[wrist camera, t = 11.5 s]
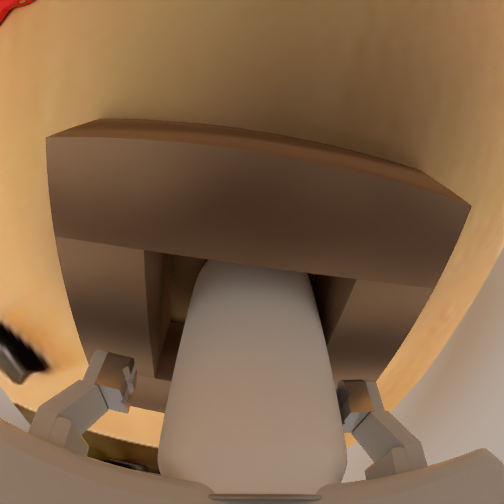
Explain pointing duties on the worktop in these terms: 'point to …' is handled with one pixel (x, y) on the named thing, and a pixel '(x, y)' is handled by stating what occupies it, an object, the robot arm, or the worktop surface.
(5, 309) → the worktop surface
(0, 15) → the tow hook
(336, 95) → the worktop surface
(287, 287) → the can
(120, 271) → the holder
